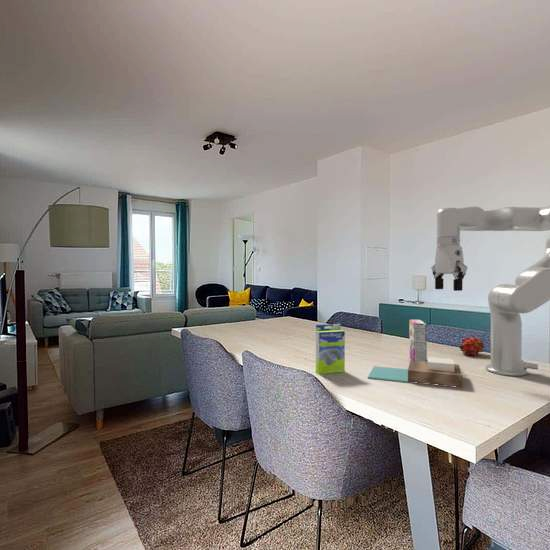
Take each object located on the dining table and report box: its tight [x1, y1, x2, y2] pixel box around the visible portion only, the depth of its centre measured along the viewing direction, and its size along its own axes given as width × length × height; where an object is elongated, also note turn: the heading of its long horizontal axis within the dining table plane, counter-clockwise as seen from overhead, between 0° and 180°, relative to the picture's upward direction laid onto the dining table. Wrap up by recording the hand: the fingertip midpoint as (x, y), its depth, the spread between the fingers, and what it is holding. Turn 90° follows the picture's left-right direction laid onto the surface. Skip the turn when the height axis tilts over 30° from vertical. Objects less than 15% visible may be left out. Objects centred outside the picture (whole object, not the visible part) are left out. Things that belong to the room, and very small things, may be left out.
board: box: [407, 359, 463, 388], centre depth 124 cm, size 16×14×4 cm
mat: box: [367, 365, 409, 383], centre depth 130 cm, size 13×15×1 cm
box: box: [314, 323, 346, 375], centre depth 134 cm, size 10×4×17 cm, turn 106°
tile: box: [427, 356, 455, 372], centre depth 124 cm, size 8×7×2 cm
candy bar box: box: [408, 319, 428, 362], centre depth 147 cm, size 11×5×16 cm, turn 168°
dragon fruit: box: [459, 335, 485, 357], centre depth 159 cm, size 8×8×12 cm
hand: (448, 289), depth 133 cm, fingers open, 9 cm apart
